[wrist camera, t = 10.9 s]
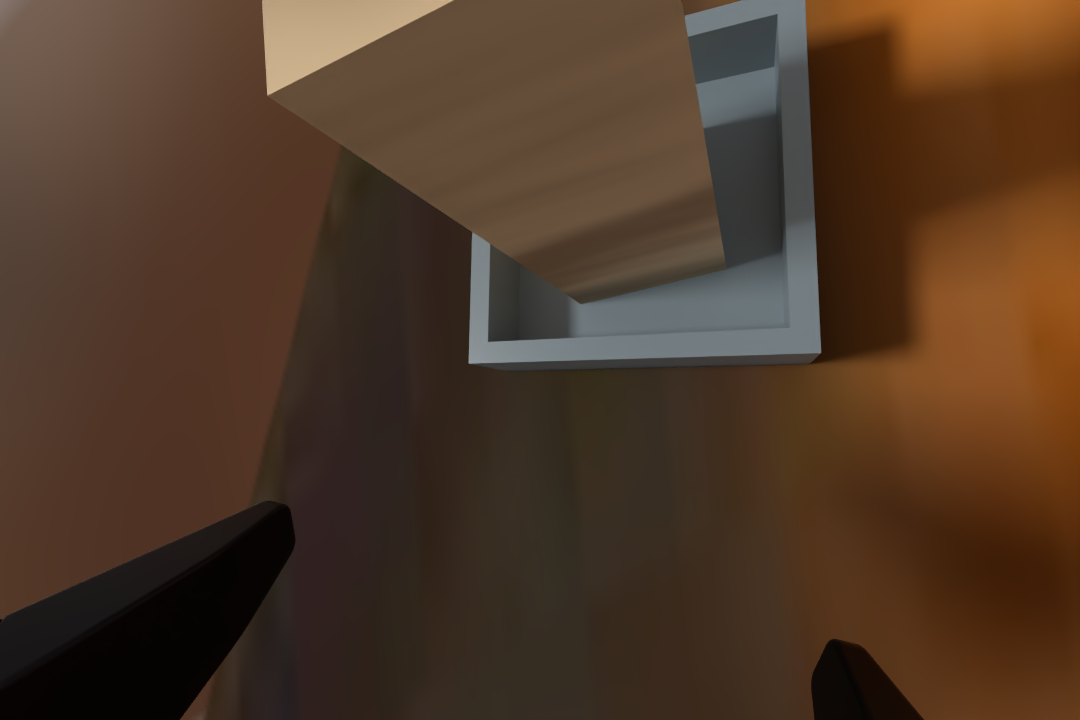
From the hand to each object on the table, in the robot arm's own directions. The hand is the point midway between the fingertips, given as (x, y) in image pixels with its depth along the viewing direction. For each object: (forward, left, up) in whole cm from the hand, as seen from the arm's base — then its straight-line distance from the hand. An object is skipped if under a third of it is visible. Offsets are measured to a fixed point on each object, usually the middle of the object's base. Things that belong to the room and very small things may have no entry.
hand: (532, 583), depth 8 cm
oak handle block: (+8, -6, -9) cm, 13 cm away
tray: (+8, -6, -10) cm, 14 cm away
